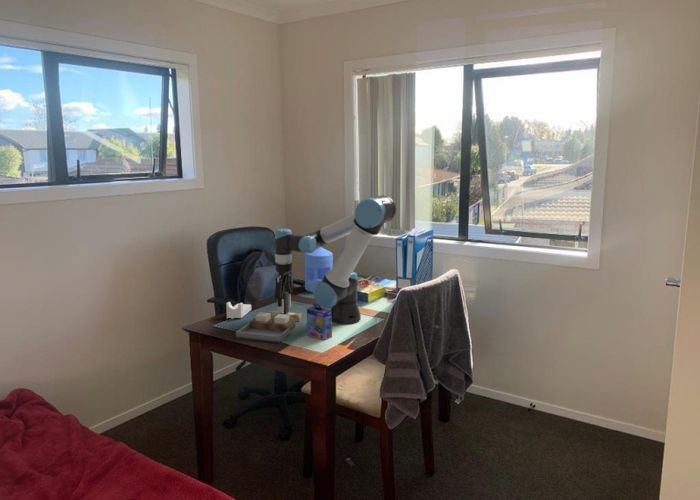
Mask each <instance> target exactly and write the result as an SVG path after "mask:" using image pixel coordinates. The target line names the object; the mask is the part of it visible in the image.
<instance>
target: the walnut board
mask: <svg viewBox="0 0 700 500" xmlns="http://www.w3.org/2000/svg"><path fill="white" fill-rule="evenodd" d="M249 324H250V328H254V329H263V330H272V331H281V332H284V331H285V330H286V329H287V328H290V332H291V331H293V330H294V328H296V321H295V319H289V321H288V322H287V323H286V324H281V323H275V320H274V317H271V319H269V320H268V321H267V322H262V321H256V317H254V318H253V319H252V320H250V321H249Z"/></svg>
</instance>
